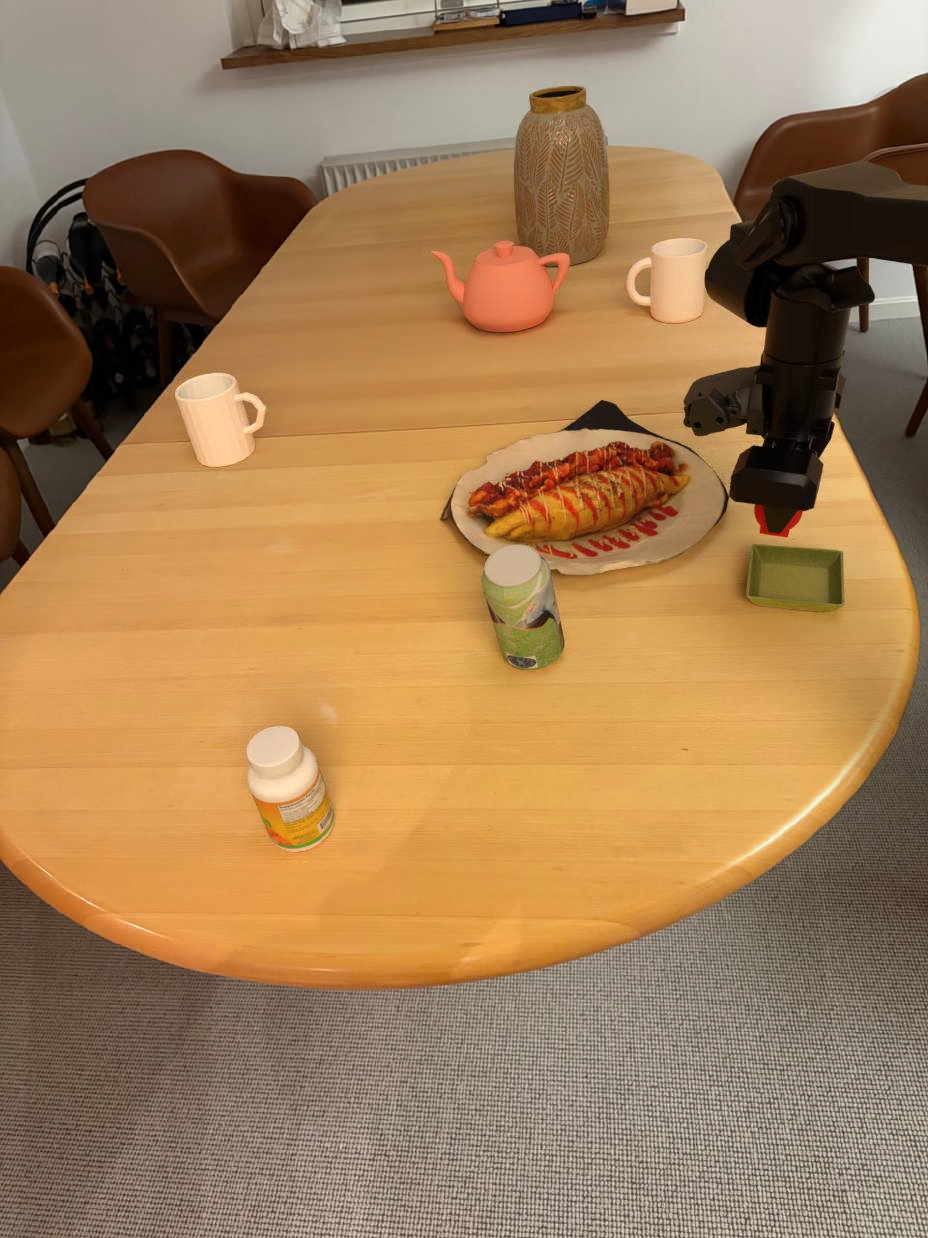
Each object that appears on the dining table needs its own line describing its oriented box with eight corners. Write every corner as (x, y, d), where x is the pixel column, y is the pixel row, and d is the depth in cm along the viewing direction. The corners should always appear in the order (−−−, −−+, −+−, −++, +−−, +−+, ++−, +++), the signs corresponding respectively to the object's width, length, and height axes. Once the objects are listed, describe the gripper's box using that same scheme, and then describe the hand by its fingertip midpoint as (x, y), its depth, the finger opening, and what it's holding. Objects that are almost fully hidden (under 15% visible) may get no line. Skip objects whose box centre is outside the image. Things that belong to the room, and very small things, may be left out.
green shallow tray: (841, 623, 82) (845, 606, 80) (743, 613, 84) (745, 596, 83) (840, 567, 88) (843, 550, 86) (748, 559, 90) (750, 542, 89)
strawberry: (802, 519, 78) (809, 478, 75) (795, 544, 75) (802, 503, 73) (756, 512, 80) (761, 472, 77) (747, 537, 77) (752, 497, 74)
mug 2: (625, 326, 138) (625, 259, 131) (626, 306, 144) (626, 241, 138) (704, 323, 136) (708, 254, 129) (702, 302, 142) (706, 236, 135)
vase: (586, 274, 157) (582, 103, 140) (502, 267, 165) (488, 104, 148) (624, 242, 168) (625, 79, 151) (543, 236, 176) (535, 81, 159)
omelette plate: (627, 399, 118) (628, 350, 113) (778, 545, 93) (786, 490, 88) (407, 463, 113) (397, 415, 108) (502, 635, 88) (495, 583, 83)
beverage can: (576, 643, 84) (571, 540, 76) (539, 693, 79) (530, 589, 71) (518, 625, 87) (508, 524, 79) (479, 672, 82) (465, 570, 74)
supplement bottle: (262, 814, 72) (229, 734, 66) (325, 789, 73) (298, 708, 67) (278, 864, 68) (244, 784, 62) (344, 837, 69) (317, 756, 63)
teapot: (432, 342, 142) (421, 264, 134) (447, 306, 153) (437, 232, 145) (569, 334, 138) (566, 254, 130) (574, 298, 149) (571, 222, 141)
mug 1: (265, 470, 116) (245, 401, 110) (186, 466, 119) (162, 399, 113) (290, 439, 122) (273, 373, 115) (214, 436, 125) (193, 371, 119)
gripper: (721, 295, 76) (708, 453, 86) (666, 395, 64) (659, 566, 74) (860, 302, 72) (829, 468, 82) (830, 410, 59) (799, 589, 70)
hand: (778, 518), depth 77 cm, fingers closed on strawberry, 4 cm apart
